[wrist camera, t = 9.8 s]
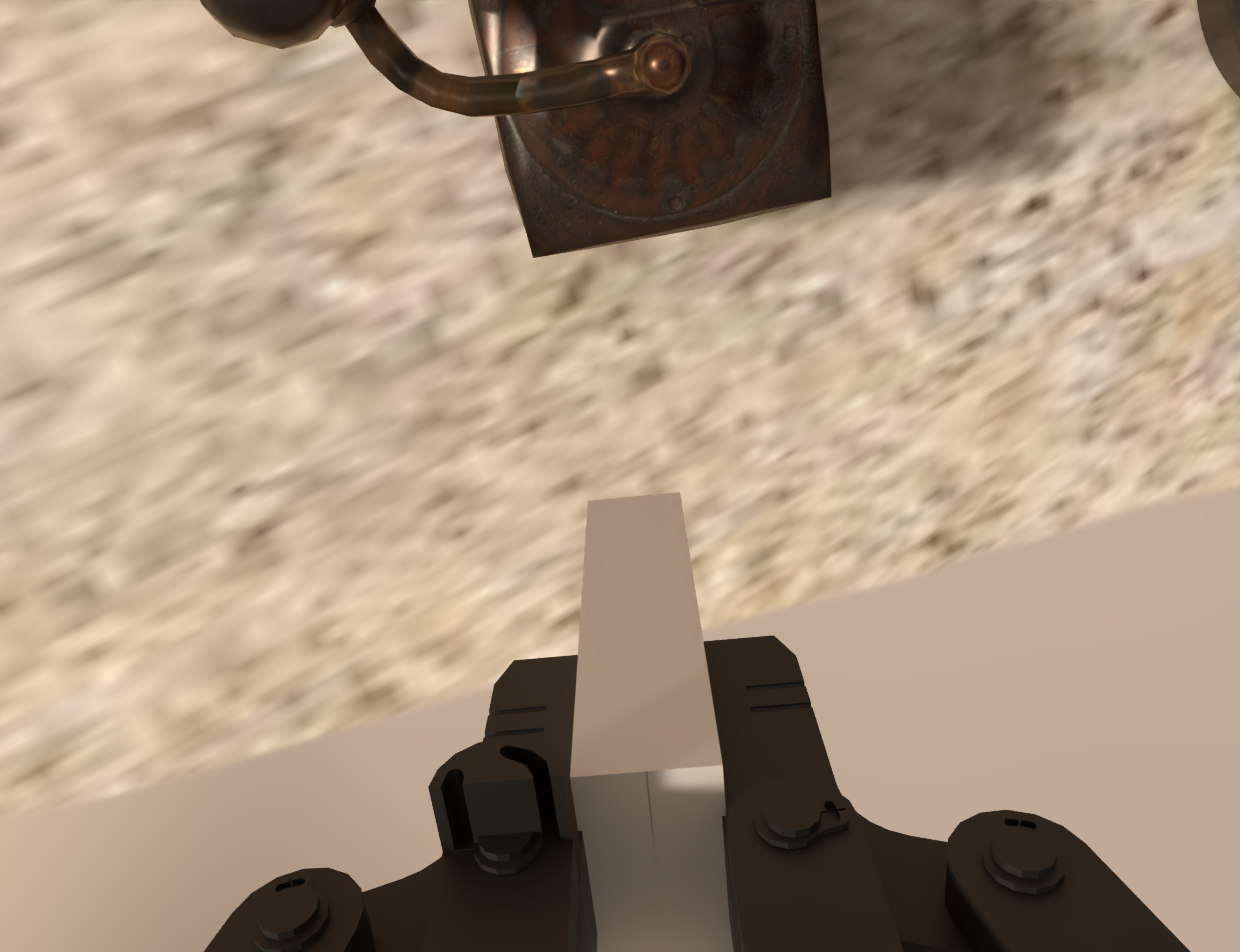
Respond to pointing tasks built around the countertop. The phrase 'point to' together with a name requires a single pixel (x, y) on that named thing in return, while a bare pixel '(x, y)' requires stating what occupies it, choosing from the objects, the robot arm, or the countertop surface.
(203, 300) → the countertop surface
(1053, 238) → the countertop surface
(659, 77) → the manual coffee grinder
